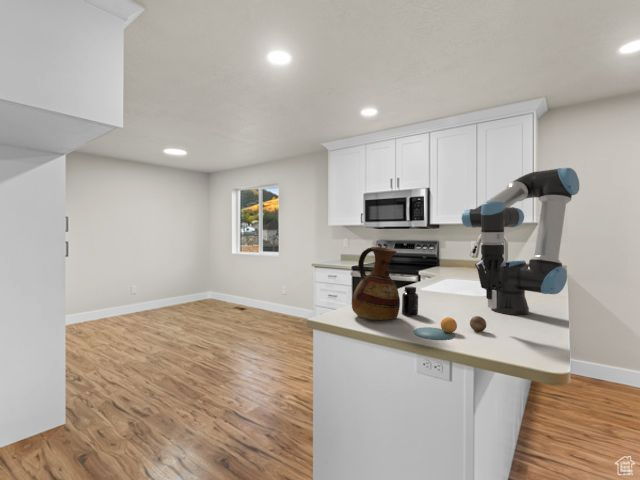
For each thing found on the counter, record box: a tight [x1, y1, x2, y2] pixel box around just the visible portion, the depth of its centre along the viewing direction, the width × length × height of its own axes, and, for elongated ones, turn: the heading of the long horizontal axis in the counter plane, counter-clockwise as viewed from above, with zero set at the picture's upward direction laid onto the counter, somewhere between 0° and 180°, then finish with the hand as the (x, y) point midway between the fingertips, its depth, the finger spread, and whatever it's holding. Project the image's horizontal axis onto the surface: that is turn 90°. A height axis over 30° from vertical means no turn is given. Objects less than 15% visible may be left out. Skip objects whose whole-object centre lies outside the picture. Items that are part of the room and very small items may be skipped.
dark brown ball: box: [469, 315, 487, 333], centre depth 123 cm, size 6×6×6 cm
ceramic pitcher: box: [351, 245, 401, 321], centre depth 141 cm, size 20×20×30 cm
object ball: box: [440, 316, 458, 333], centre depth 121 cm, size 6×6×6 cm
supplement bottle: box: [401, 285, 419, 317], centre depth 147 cm, size 7×7×12 cm
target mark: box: [412, 326, 455, 341], centre depth 120 cm, size 14×14×1 cm
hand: (492, 307), depth 124 cm, fingers closed
